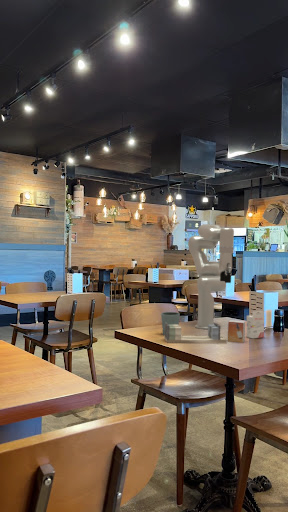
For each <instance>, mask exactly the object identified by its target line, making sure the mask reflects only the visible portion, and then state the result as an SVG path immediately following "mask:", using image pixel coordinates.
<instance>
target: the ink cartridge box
mask: <svg viewBox="0 0 288 512" xmlns="http://www.w3.org/2000/svg"><path fill="white" fill-rule="evenodd" d="M264 337H265V311H264V310H254V311H252V315H246V338H249V339H259V338H260V339H261V338H264Z"/></svg>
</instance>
